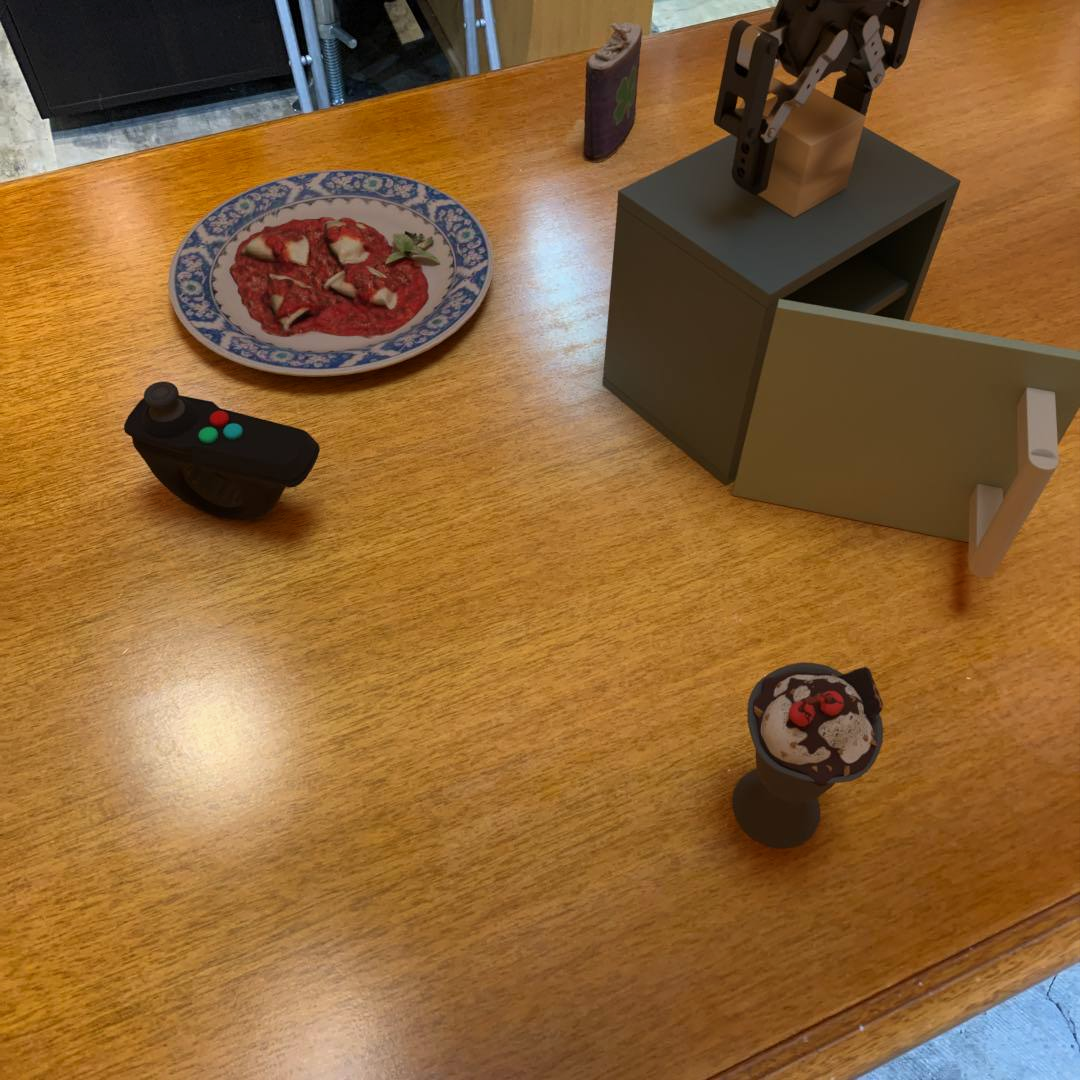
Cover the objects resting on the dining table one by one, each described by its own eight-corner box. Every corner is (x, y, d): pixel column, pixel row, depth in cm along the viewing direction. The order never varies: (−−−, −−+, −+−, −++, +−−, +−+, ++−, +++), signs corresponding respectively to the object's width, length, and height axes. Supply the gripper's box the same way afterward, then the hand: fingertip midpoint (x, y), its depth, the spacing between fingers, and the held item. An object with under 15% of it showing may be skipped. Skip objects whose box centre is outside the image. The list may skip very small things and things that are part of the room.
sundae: (713, 855, 59) (762, 724, 47) (720, 746, 63) (767, 599, 52) (835, 874, 59) (916, 746, 47) (834, 763, 63) (908, 619, 51)
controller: (176, 465, 76) (137, 359, 68) (339, 505, 74) (318, 401, 66) (146, 510, 74) (101, 406, 66) (314, 553, 72) (288, 450, 64)
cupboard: (889, 374, 83) (961, 180, 70) (725, 487, 76) (770, 294, 62) (765, 289, 89) (808, 95, 76) (601, 385, 82) (617, 190, 68)
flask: (615, 109, 105) (624, -2, 97) (643, 117, 105) (654, 6, 96) (576, 158, 100) (582, 45, 92) (605, 166, 99) (614, 54, 91)
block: (788, 153, 71) (803, 81, 67) (846, 188, 69) (866, 116, 65) (735, 181, 69) (748, 108, 65) (793, 218, 67) (811, 145, 63)
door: (999, 625, 69) (1113, 445, 56) (718, 566, 71) (763, 381, 58) (999, 540, 73) (1104, 354, 60) (733, 487, 76) (778, 298, 62)
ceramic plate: (173, 416, 79) (163, 386, 77) (175, 207, 95) (167, 177, 92) (520, 372, 83) (520, 342, 80) (467, 177, 98) (466, 147, 96)
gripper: (823, -57, 50) (762, 235, 63) (1006, -133, 56) (915, 149, 69) (708, -111, 54) (672, 176, 67) (891, -177, 59) (825, 99, 72)
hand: (796, 162), depth 68 cm, fingers open, 8 cm apart
